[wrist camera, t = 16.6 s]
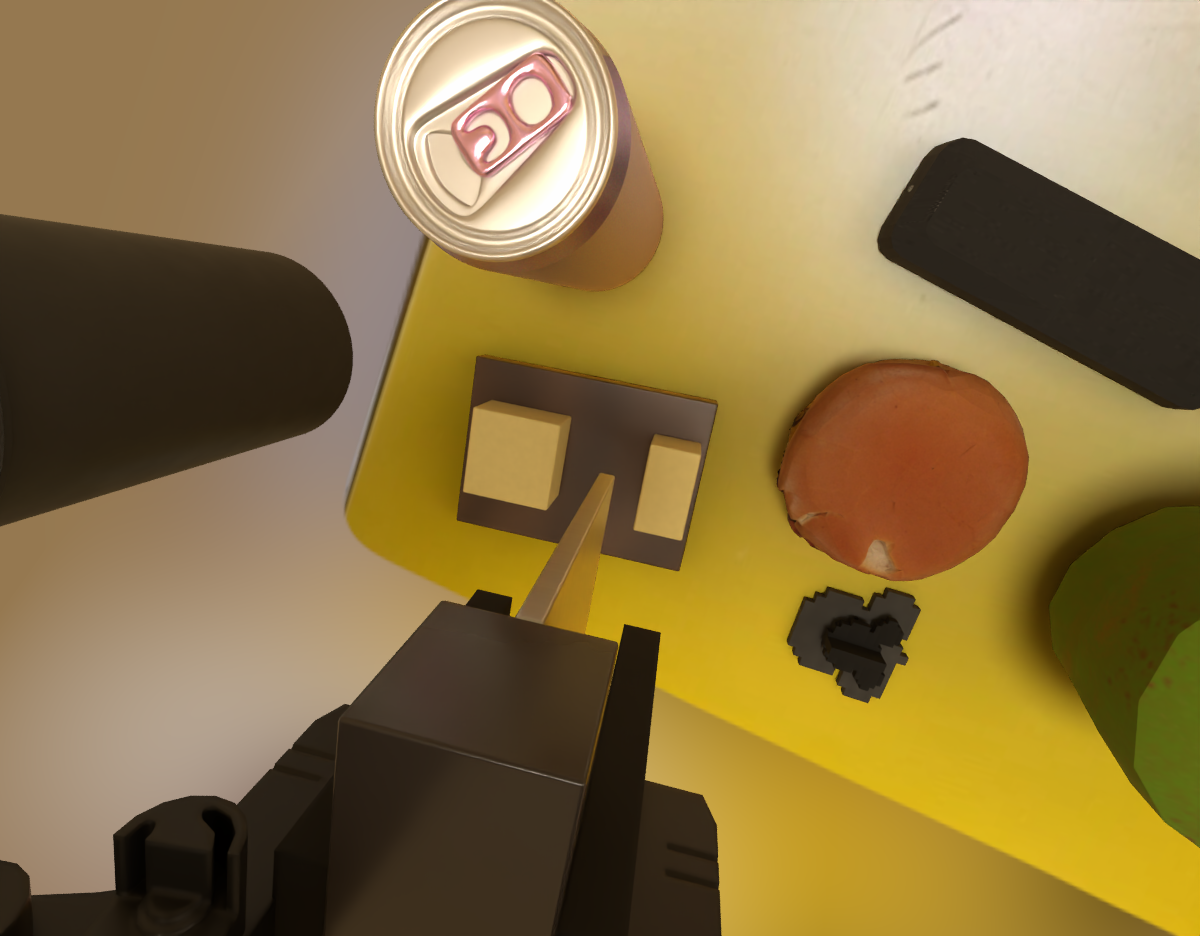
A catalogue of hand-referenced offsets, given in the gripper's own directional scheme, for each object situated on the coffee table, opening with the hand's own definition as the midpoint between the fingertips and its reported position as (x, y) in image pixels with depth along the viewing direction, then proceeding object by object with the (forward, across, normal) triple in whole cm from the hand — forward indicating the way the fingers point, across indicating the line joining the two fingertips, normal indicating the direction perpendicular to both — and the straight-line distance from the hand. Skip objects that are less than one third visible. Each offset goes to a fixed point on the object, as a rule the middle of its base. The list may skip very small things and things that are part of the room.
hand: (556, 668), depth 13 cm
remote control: (+18, +16, +12) cm, 27 cm away
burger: (+18, +11, +3) cm, 22 cm away
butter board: (+18, -3, 0) cm, 18 cm away
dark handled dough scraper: (+3, 0, 0) cm, 3 cm away
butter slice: (+17, +2, 0) cm, 17 cm away
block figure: (+18, +12, -6) cm, 23 cm away
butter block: (+17, -5, 0) cm, 18 cm away
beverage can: (+18, -4, +11) cm, 22 cm away
